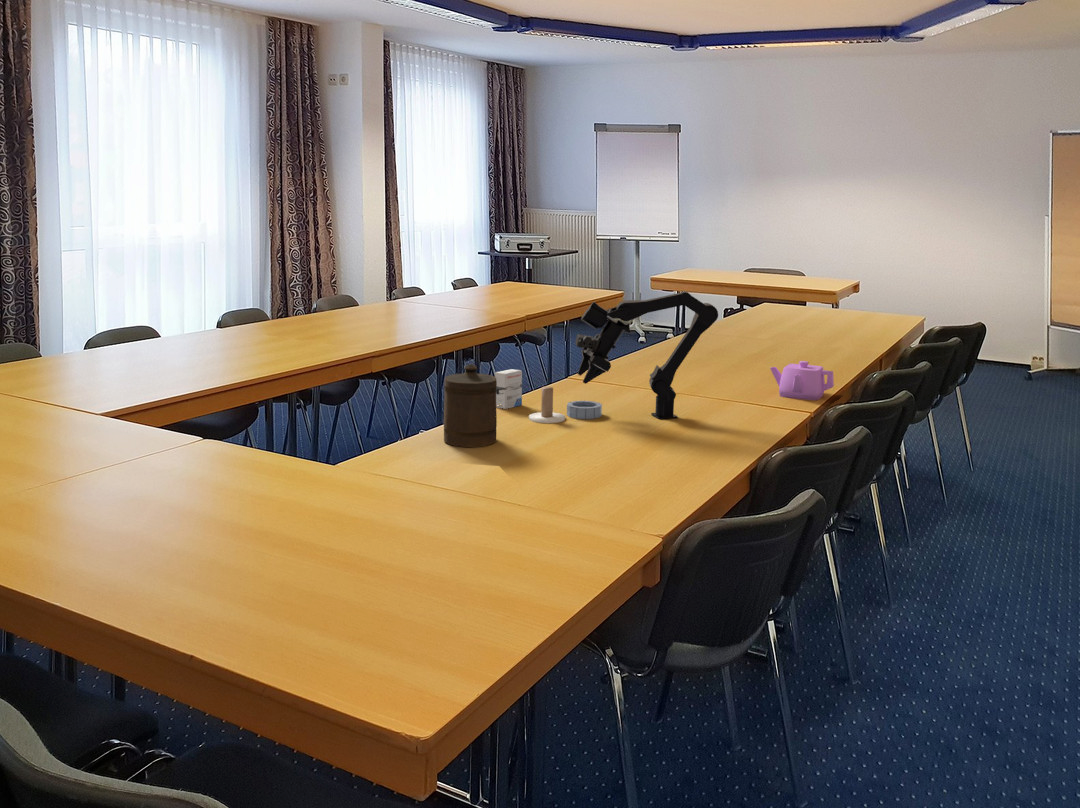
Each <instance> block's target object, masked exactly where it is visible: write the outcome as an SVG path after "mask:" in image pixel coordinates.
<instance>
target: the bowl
mask: <svg viewBox="0 0 1080 808" xmlns="http://www.w3.org/2000/svg"><path fill="white" fill-rule="evenodd" d="M602 410H603V404H602V403H600V402H598V401H594V400H573V401H569V402H568V403H567V404H566V416H568V417H569V418H573V419H576V420H596V419H598V418H599V419H600V418H601V417H602V414H603V413H602V412H603V411H602Z"/></svg>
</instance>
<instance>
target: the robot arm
mask: <svg viewBox="0 0 1080 808" xmlns="http://www.w3.org/2000/svg"><path fill="white" fill-rule="evenodd" d="M682 306H685V307H686V308H688V309H689V310H691V311H692V312H694V315H693V317H692V320H691V323H690V326H689V327H688V329H687V331H686V332H685V333H684V335H683V337H682V338H681V339H680V341H679V342H678V344H677V345H676V347H675V349H674V350H673V351H672V353H670V356H669V357H668V359H667V360H666V361H665V363H664V364H663V365H661V366H659V365H657V364H656V366H655V368H654V370H653V372H651V373H650V374H649V376H650V377H649V381H648V382H649V386H650V389H651V390H652V392H653V393H654V394H656V397H655V412H651V413H650V414H651V416H653V417H654V418H656V419H659V420H663V419H664V420H665V419H667V420H668V419H677V418H678V417H679V416H678V415H677V414H674V413H675V412H674V411H675V410H674V409H675V406H674V405H675V399H676V396H677V393H676V391H675V390H674V388H673V387H672V383H673V381H674V378H675V375H676V372H677V371H678V369H679V368H680V366H681V364H682V363H683V361H685V359H686V357H687V356H688V354H689V352H691V350H692V348H693V347H694V346H695V344H696V343H697V341H698V339H700V337H701V335H702V334H703V333H705V332H706V331H707V330H708V329H709V328H710V327H711V326H712V325H713V324H714V323H715V322H716V321H717V320H718V318H719V311H718V309H717V308H716V307H715V306H714V305H713V304H711V303H709V302H702V301H700V300H699V299H697V298H696V297H694V296H693V295H692V294H690V293H689V292H688V291H685V290H684V291H680V292H677V293H673V294H668V295H662V296H658V297H654V298H649V299H644V300H643V299H641V300H635V299H633V300H622V301H619V302H618V303H617V305H616V306H614V307H612V308H609V309H605V308H603V307H601V306H600V305H599V304H598V303H597V302H595V301H592V303H591V304H590V305H589V306H588V308H587V309H586V310H585V311H584V313H583V315H582V317H581V319H580V321H582V322H583V323H585V324H587V325H589V326H590V327H592V328H593V329H595V330H598V329H602V330H601V331H600V333H596V334H595V336H590V335H585V334H579V333H578V334H576V338H575V342H574V343H575V344H574V345H576V347H577V348H581V349H580V350H581V351H580V352H581V355H582V360H581V363H580V365H579V368H578V372H577V375H578V376H583V375H584V378H583V380H582V383H583V384H585V385H586V384H588V383H589V382H591V381H593V380H594V379H596V378H597V377H599V376H601V375H602V374H604V373H606V372H609V370H611V368H612V366H611V362H610V360H609V354H610V352H611V351H612V350H614V349H616V347H617V346H616V343H617V342H618V341H619V340H620V338H621V336H622V334H623V333H624V332H627V333H628V334H630V333H632V332H631V329H630V323H629V322H630V321H632V320H635V319H637V318H640V317H642V316H643V315H645V314H649V313H653V312H657V311H658V312H659V311H662V310H666V309H667V310H668V309H672V308H676V307H682ZM614 319H616V320H614ZM625 322H628V323H625Z"/></svg>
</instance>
